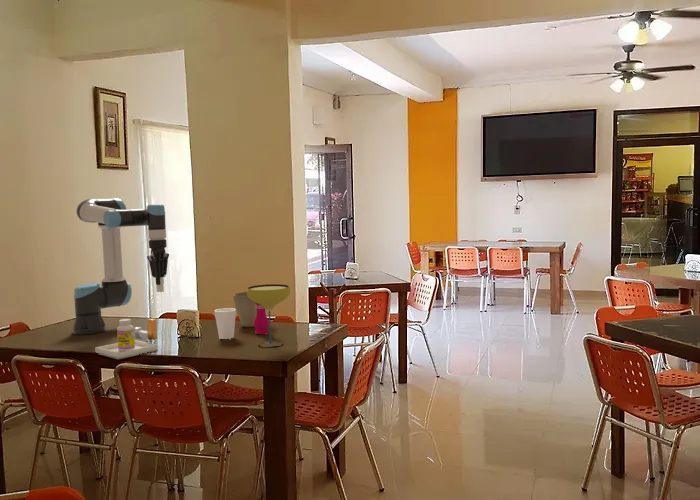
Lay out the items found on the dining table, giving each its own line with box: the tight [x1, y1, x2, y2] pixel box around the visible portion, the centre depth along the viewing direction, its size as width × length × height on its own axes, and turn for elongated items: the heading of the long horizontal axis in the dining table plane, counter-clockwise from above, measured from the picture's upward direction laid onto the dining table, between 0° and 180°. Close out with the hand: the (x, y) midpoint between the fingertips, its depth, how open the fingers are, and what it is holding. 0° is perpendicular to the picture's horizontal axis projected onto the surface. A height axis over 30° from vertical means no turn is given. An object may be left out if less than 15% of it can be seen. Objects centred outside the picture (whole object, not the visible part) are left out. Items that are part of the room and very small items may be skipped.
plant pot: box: [232, 291, 257, 328], centre depth 326 cm, size 15×15×16 cm
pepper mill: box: [253, 302, 269, 335], centre depth 305 cm, size 7×7×20 cm
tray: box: [94, 340, 158, 360], centre depth 276 cm, size 18×18×2 cm
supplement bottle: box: [116, 318, 135, 351], centre depth 276 cm, size 7×7×13 cm
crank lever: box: [133, 318, 158, 341], centre depth 290 cm, size 16×4×8 cm, turn 51°
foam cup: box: [214, 307, 237, 340], centre depth 297 cm, size 10×9×13 cm
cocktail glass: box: [246, 283, 291, 344], centre depth 281 cm, size 18×18×25 cm
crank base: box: [134, 334, 149, 343], centre depth 294 cm, size 9×9×4 cm
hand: (160, 291), depth 293 cm, fingers closed
